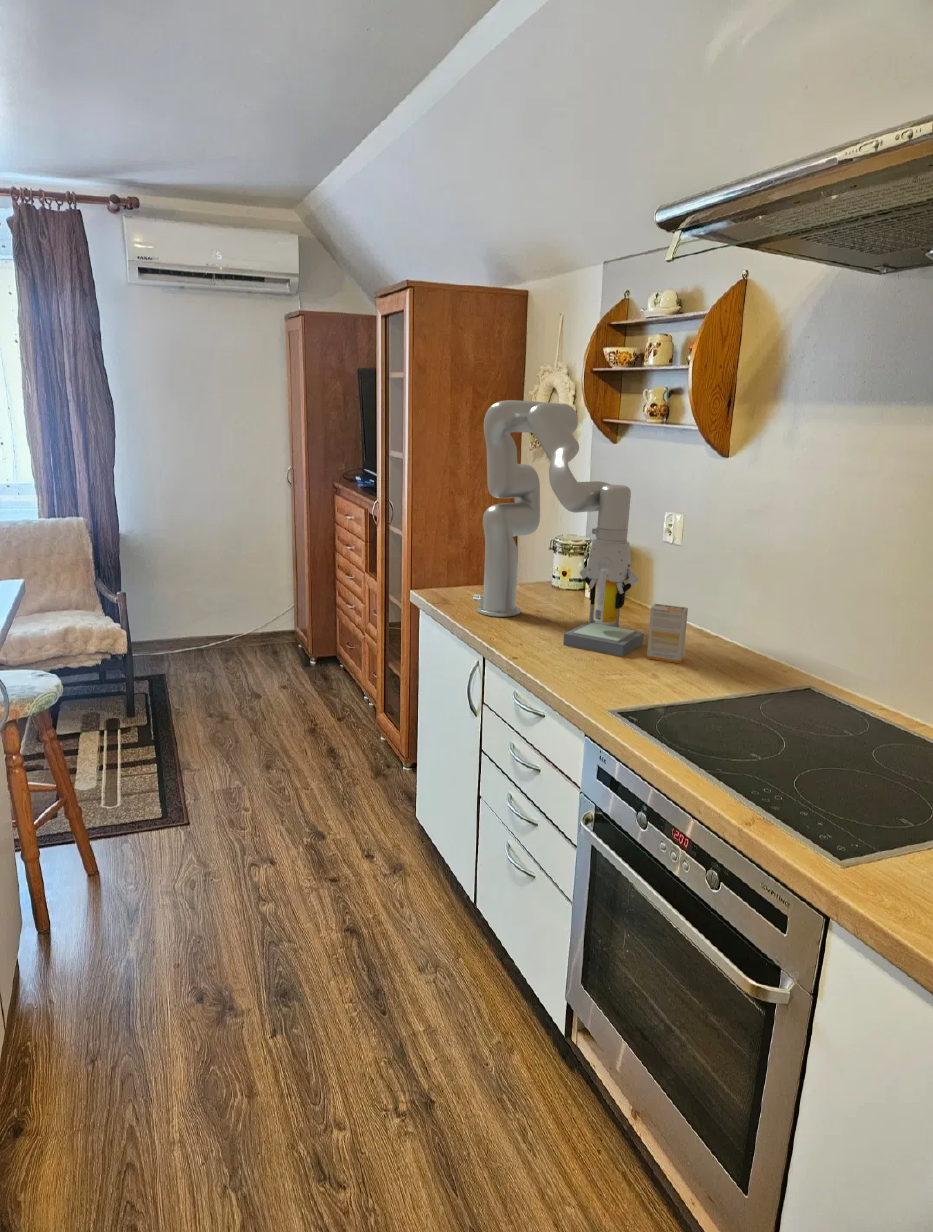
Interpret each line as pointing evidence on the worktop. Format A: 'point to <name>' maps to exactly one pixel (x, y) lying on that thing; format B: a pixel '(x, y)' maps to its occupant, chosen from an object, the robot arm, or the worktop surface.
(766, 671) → the worktop surface
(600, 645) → the raised board
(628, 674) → the worktop surface
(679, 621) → the supplement box
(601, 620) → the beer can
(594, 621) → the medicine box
